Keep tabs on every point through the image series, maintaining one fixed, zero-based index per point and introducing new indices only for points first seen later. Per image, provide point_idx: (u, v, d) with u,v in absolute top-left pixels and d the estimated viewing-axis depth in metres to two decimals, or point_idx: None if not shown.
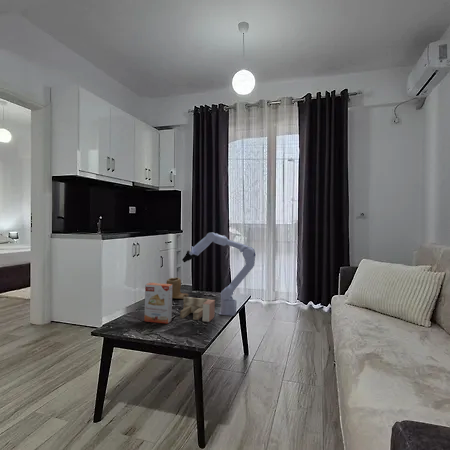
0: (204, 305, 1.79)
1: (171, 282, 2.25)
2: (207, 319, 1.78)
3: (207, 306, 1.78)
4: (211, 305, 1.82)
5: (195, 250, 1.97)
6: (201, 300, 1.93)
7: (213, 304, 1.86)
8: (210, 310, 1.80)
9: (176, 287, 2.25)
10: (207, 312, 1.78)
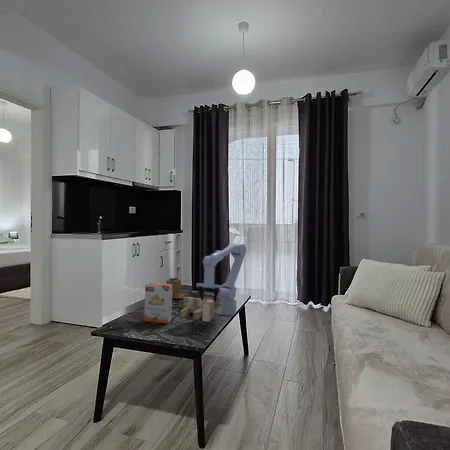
0: (204, 305, 1.79)
1: (171, 282, 2.25)
2: (207, 319, 1.78)
3: (207, 306, 1.78)
4: (211, 305, 1.82)
5: (213, 283, 1.83)
6: (201, 300, 1.93)
7: (213, 304, 1.86)
8: (210, 310, 1.80)
9: (176, 287, 2.25)
10: (207, 312, 1.78)
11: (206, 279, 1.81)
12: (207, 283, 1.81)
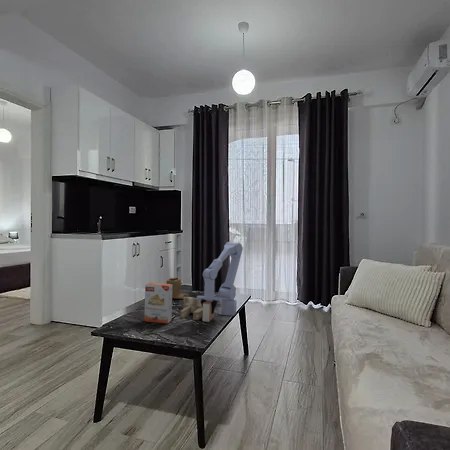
0: (204, 305, 1.79)
1: (171, 282, 2.25)
2: (207, 319, 1.78)
3: (207, 306, 1.78)
4: (211, 305, 1.82)
5: (213, 295, 1.83)
6: None
7: None
8: (210, 310, 1.80)
9: (176, 287, 2.25)
10: (207, 312, 1.78)
11: (206, 292, 1.81)
12: (207, 296, 1.81)
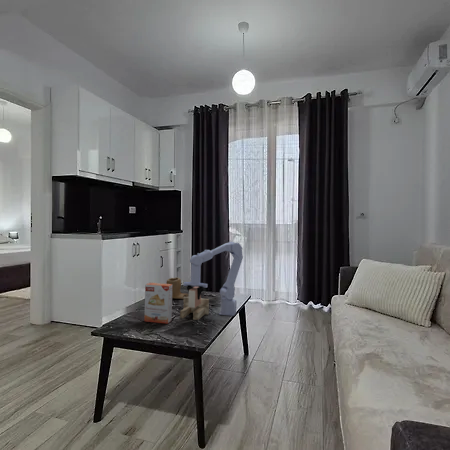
0: (190, 291, 1.83)
1: (171, 282, 2.25)
2: (193, 305, 1.82)
3: (193, 292, 1.82)
4: (197, 292, 1.85)
5: (199, 282, 1.87)
6: (201, 300, 1.93)
7: None
8: (196, 296, 1.84)
9: (176, 287, 2.25)
10: (193, 298, 1.82)
11: (192, 278, 1.85)
12: (193, 282, 1.85)
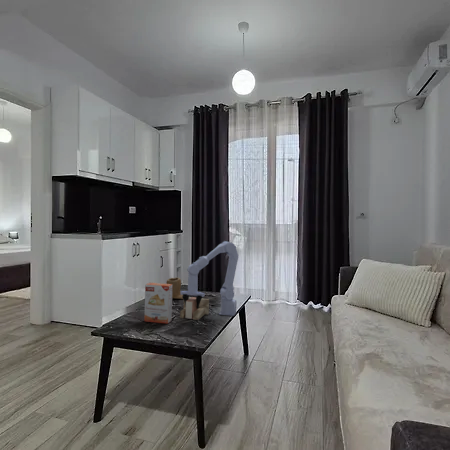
0: (187, 302, 1.84)
1: (171, 282, 2.25)
2: (190, 316, 1.83)
3: (190, 303, 1.83)
4: (194, 302, 1.86)
5: None
6: (201, 300, 1.93)
7: None
8: (193, 307, 1.85)
9: (176, 287, 2.25)
10: (190, 309, 1.83)
11: (190, 287, 1.86)
12: (191, 291, 1.86)
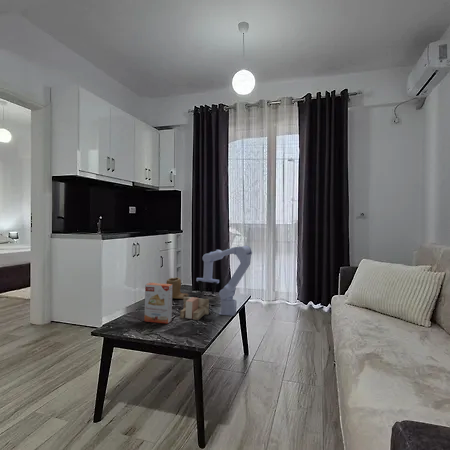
0: (187, 302, 1.84)
1: (171, 282, 2.25)
2: (190, 316, 1.83)
3: (190, 303, 1.83)
4: (194, 302, 1.86)
5: None
6: (201, 300, 1.93)
7: (196, 302, 1.90)
8: (193, 307, 1.85)
9: (176, 287, 2.25)
10: (190, 309, 1.83)
11: (205, 274, 2.00)
12: (206, 278, 2.00)
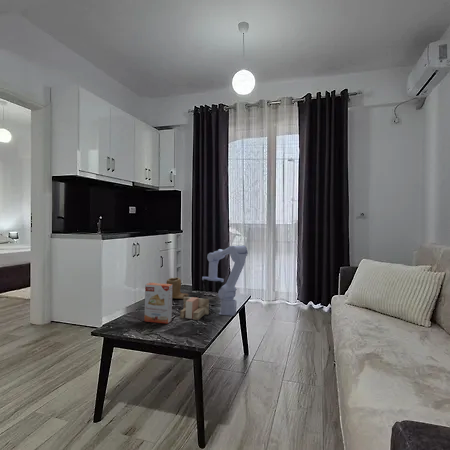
0: (187, 302, 1.84)
1: (171, 282, 2.25)
2: (190, 316, 1.83)
3: (190, 303, 1.83)
4: (194, 302, 1.86)
5: (216, 276, 2.06)
6: (201, 300, 1.93)
7: (196, 302, 1.90)
8: (193, 307, 1.85)
9: (176, 287, 2.25)
10: (190, 309, 1.83)
11: (210, 273, 2.05)
12: (211, 276, 2.05)
